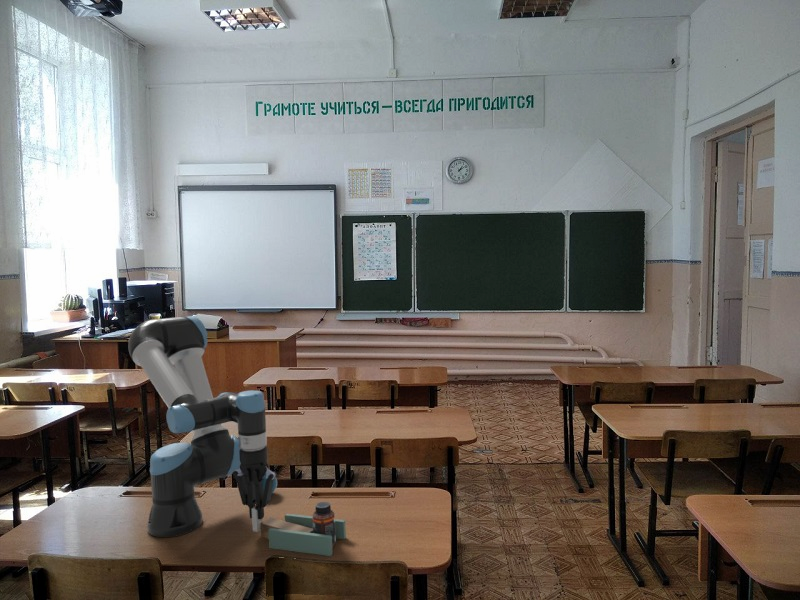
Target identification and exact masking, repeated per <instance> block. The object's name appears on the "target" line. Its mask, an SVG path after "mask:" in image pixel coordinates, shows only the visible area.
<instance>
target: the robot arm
mask: <svg viewBox="0 0 800 600" xmlns="http://www.w3.org/2000/svg"><path fill="white" fill-rule="evenodd" d="M207 345H208V332H207V329H206V327H205V325H204V322H203V321H201V320H200V319H199V317H196V316H193V315H190V316H189V315H188V316H187V315H186V316H184V315H183V316H181V315H180V316H175V317H166V318H157V319H156V318H155V319H148V320H146V321H144V322H141V323H140V324H139V325H137V326H136V327H135V328H134V330H133V331H132V332H131V335H129V339H128V345H127V346H128V352H129V353H128V354H129V356H130V358H131V360H132V361H133V362H134V364H135V365H137V366H138V367H141V369H142V370H143V372H144V373H145V374H146V377H147V378H148V379H149V380H150V382H151V384H152V386H154V388H155V390H156V392H157V393H158V394H159V396H160V397H161V399H162V401H163V402H164V404H165V405H166V406H167V408H168V409H167V411H166V416H165V417H166V423H167V427H168V429H169V430H170V432H171V433H173V434H181V433H182V434H183V433H189V432H193V433H192V435H193V436H192V438H191V439H190V442H186V441H185V442H184V441H179V442H175V443H169V444H168V445H167V444H166V445H164V446H162V447H159V448H158V449H156V450H155V451H154V452H153V453H152V455H151V456H150V459H149V460H150V461H149V463H150V464H149V466H150V467H149V473H150V486H151V497H152V498H151V499H152V500H151V501H152V504H151V507H150V508H151V509H150V512H149V516H148V519H147V532H148V533H147V534H149V535H151V536H153V537H156V538H173V537H177V536H181V535H182V536H183V535H186V534H188V533H191V532H193V531H194V530H196V529H198V528H199V527H200V526H201V525H202V524H203V512H202V510H201V509H200V506H199V504H198V502H197V498H196V495H195V486H199V485H202V484H204V483H210V482H212V481H215V480H218V479H221V478H226V477H228V476H230V475H233V477H234V479H235V482H236V486H237V489H238V493H239V496H240V500H241V503H242V504H241V505H243V506H247V507H248V509H249V510H248V512H249V519H251V522H252V523H251V524H252V525H251V526H252V532H259V531H261V525H260V523H261V522H263V518H265V508H266V507H267V506H269V504H270V503H271V498H272V494H273V493H272V488H273V482H274V479H275V477H276V478H277V475H278V474H277V473H278V472H277V471H272V470H271V469H270V467H269V464H268V458H269V457H268V447H267V445H268V443H267V442H268V440H267V438H268V437H267V423H266V422H267V421H266V420H267V419H266V402H265V397H264V396H265V395H264V393H263V392H262V391H260V390H254V389H253V390H244V391H241V392H238V393H236V392H227V391H226V392H222V393H219V395H218V396H216V397H214V396H213V392H212V389H211V385H210V382H209V378H208V375H207V371H206V369H205V365H204V362H203V357H202V356H203V355H204V354H205V349H206V348H207ZM229 422H233V423H236V424H237V432H238V433H237V435H238V437H237V436H236V435H232V434H230V432H229V429H228V428H227V427H225V426H223V425H222V424H226V423H229ZM265 474H266V479H267V480H266V483H265V488H264V486H263V482H264V476H265Z"/></svg>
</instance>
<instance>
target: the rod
mask: <svg viewBox="0 0 800 600" xmlns="http://www.w3.org/2000/svg"><path fill="white" fill-rule="evenodd" d="M260 525H261V529H260V537H261V538H265V539H268V540H269V531H268V530H269V529H270V528H275V529H283V530H291V531H299V532H307V533H313V529H312V528H308V527H304V526H301V525H297V524H293V523H290V522H286V521H285V520H281V519H278V518H274V517H268V518H267V519H265V520H262V522H261V523H260Z"/></svg>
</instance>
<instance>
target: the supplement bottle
mask: <svg viewBox="0 0 800 600" xmlns="http://www.w3.org/2000/svg"><path fill="white" fill-rule="evenodd" d="M312 516H313V533H315V534H323V535H331V536H332V548H333V547H334V546H335V545H336V543H337V541H336V540H337V539H336V536H335V519H336V518H335V512H334V511H333V510H332V509H331V503H330V502H328V501H319V502H318V503H316V504H315V511H314V512H313V514H312Z"/></svg>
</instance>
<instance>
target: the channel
mask: <svg viewBox="0 0 800 600" xmlns="http://www.w3.org/2000/svg"><path fill="white" fill-rule="evenodd" d="M284 521H286V522H290V523H293V524H297V525H301V526H304V527H308V528H312V529H313V515H303V514H294V513H286V514H285V515H284ZM268 531H269V539H268V544H269V545H268V548H269V549H274V550H283V551H289V552H298V553H305V554H311V555H312V554H313V555H319V556H327V557H331V556H332V555H333V554H334V553H333V547H332V536H331V535H323V534H315V533H307V532H299V531H291V530H283V529H275V528H270V529H269V530H268ZM346 532H347V531H346V520H345V519H341V518H340V519H338V518H335V536H336V540H337V539H338V540H345V539H346V537H347V536H346V535H347V533H346Z"/></svg>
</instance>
